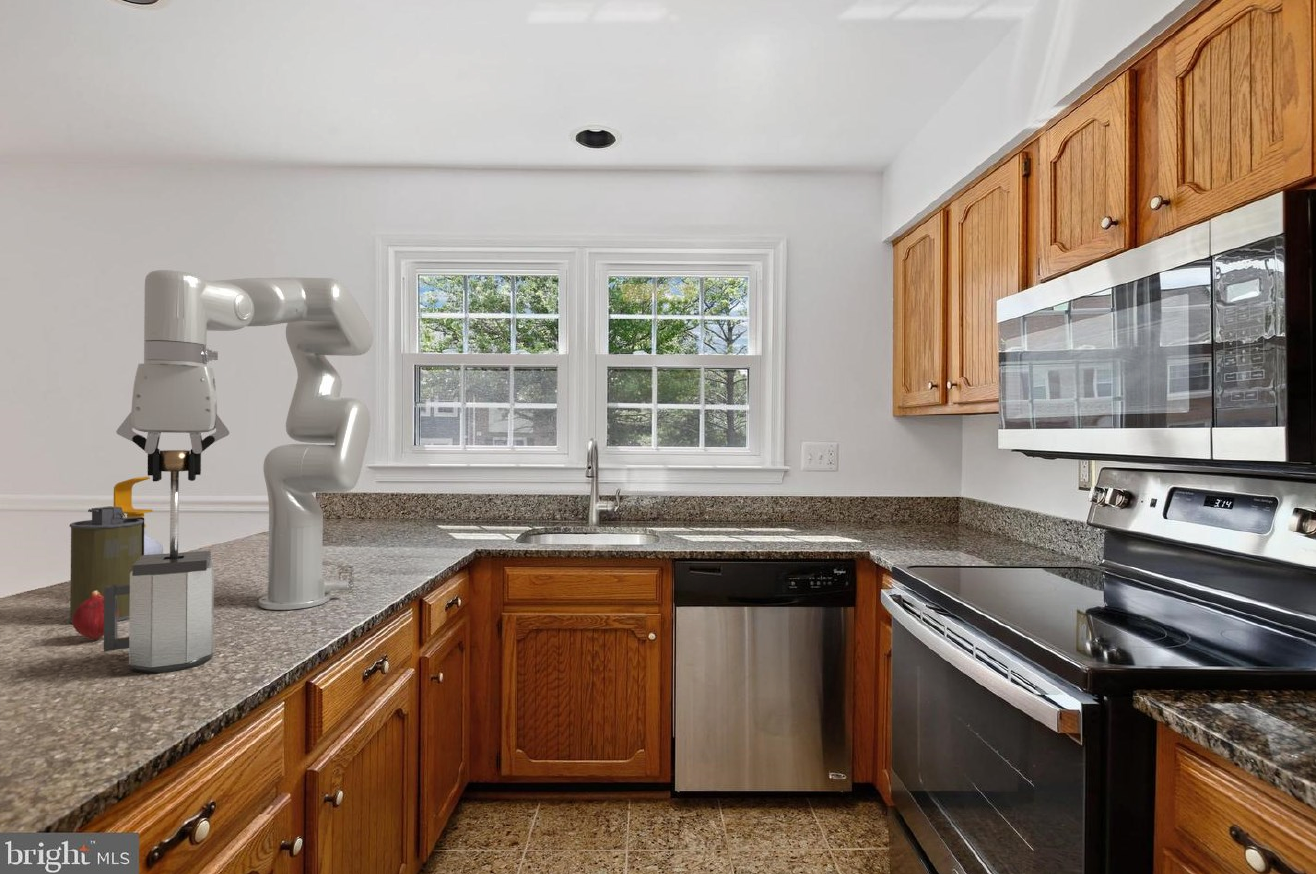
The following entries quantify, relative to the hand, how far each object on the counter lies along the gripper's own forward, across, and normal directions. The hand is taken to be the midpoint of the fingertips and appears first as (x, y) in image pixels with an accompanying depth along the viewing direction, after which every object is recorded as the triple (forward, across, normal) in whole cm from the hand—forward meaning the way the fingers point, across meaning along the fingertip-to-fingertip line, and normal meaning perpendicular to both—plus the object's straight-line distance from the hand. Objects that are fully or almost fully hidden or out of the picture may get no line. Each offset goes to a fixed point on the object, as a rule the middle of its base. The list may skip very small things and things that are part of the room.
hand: (174, 479), depth 100 cm
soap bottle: (+27, +11, -48) cm, 56 cm away
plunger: (+15, 0, 0) cm, 15 cm away
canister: (+27, +13, -34) cm, 46 cm away
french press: (+27, +1, 0) cm, 27 cm away
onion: (+27, +12, -18) cm, 35 cm away
